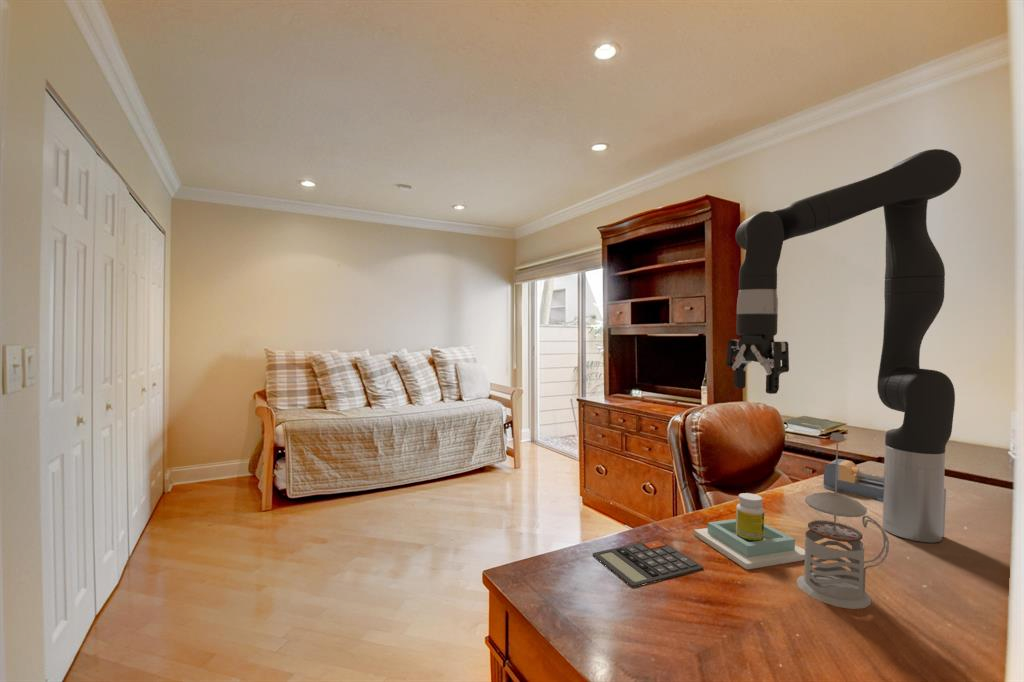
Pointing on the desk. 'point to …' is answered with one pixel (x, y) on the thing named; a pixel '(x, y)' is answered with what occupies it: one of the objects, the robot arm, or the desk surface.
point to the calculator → (647, 562)
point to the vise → (853, 480)
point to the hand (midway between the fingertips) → (755, 390)
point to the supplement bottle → (750, 517)
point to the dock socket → (751, 545)
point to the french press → (837, 551)
